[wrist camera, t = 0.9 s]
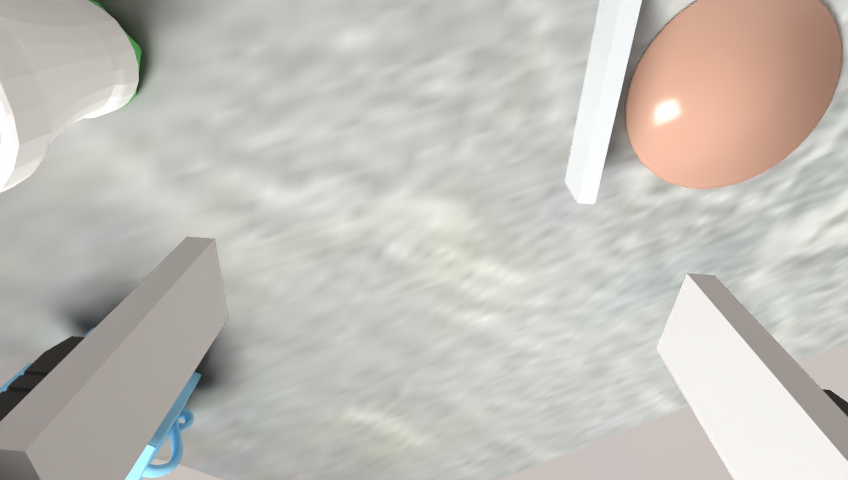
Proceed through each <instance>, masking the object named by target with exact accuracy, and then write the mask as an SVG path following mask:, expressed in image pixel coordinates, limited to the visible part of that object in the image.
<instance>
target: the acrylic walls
mask: <svg viewBox="0 0 848 480" xmlns="http://www.w3.org/2000/svg"><path fill="white" fill-rule="evenodd" d="M641 3H642V0H600V1H599V6H598V11H597V16H596V22H595V27H594V32H593V37H592V43H591V48H590V53H589V58H588V63H587V69H586V74H585V79H584V84H583V89H582V95H581V100H580V105H579V110H578V115H577V121H576V126H575V131H574V136H573V141H572V147H571V152H570V157H569V162H568V168H567V173H566V178H565V184H566V185H567V187H568V188H569V190H570V192H571V193H572V195H573V196H574V198H575V199H576V201H577V203H584V204H595V201H596V197H597V193H598V188H599V184H600V180H601V175H602V171H603V167H604V162H605V158H606V154H607V150H608V145H609V141H610V137H611V132H612V128H613V124H614V119H615V115H616V111H617V106H618V102H619V98H620V93H621V89H622V85H623V80H624V76H625V72H626V67H627V63H628V59H629V54H630V50H631V46H632V41H633V37H634V33H635V28H636V24H637V20H638V16H639V11H640V7H641Z"/></svg>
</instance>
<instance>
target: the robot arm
mask: <svg viewBox="0 0 848 480" xmlns="http://www.w3.org/2000/svg"><path fill="white" fill-rule="evenodd" d="M228 318H229V317H228V311H227V305H226V300H225V294H224V288H223V283H222V277H221V271H220V266H219V260H218V254H217V249H216V243H215V239H211V238H198V237H186V238H185V239H184V240H183V241H182V242H181V243H180V244H179V245H178V246H177V247H176V248H175V249H174V250H173V251H172V252H171V253H170V254H169V255H168V256H167V257H166V258H165V259H164V260H163V261H162V262H161V263H160V264H159V265H158V266H157V267H156V268H155V269H154V270H153V271H152V272H151V273H150V274H149V275H148V276H147V277H146V278H145V279H144V280H143V281H142V282H141V283H140V284H139V285H138V286H137V287H136V288H135V289H134V290H133V291H132V292H131V293H130V294H129V295H128V296H127V297H126V298H125V299H124V300H123V301H122V302H121V303H120V304H119V305H118V306H117V307H116V308H115V309H114V310H113V311H112V312H111V313H110V314H109V315H108V316H107V317H105V318H104V319H103V320H102V321H101V322H100V323H99V324H98V325H97V326H96V327H95V328H94V329H93V330H92V331H91V332H90V333H89V334H88V335H87V336H86V337H74V336H72V337H70V338H68V339H66V340H65V341H63V342H61V343H59V344H58V345H56V346H54V347H53V348H51V349H49V350H47V351H46V352H44V353H43V354H42V355H41V356H40V357H39V358H38V359H37V360H36V361H35V362H34V363H32V364H31V365H30V366H29V367H28V368H27V369H26V370H25V371H24V374H23V375H19V376H18V377H17V378H16V379H15V380H14V381H13V382H12V383H11V384H10V385H9V386H8V387H7V390H6V391H2V392H1V393H0V480H125V479H126V477H127V476H128V474H129V473H130V471H131V470H132V468H133V466H134V465H135V463H136V462H137V460H138V459H139V457H140V456H141V454H142V452H143V451H144V449H145V448H146V446H147V445H148V443H149V441H150V440H151V438H152V437H153V435H154V434H155V432H156V431H157V429H158V427H159V426H160V424H161V423H162V421H163V420H164V418H165V416H166V415H167V413H168V412H169V410H170V409H171V407H172V405H173V404H174V402H175V401H176V399H177V398H178V396H179V395H180V393H181V391H182V390H183V388H184V387H185V385H186V384H187V382H188V380H189V379H190V377H191V376H192V374H193V373H194V371H195V369H196V368H197V366H198V365H199V363H200V362H201V360H202V359H203V357H204V355H205V354H206V352H207V351H208V349H209V348H210V346H211V344H212V343H213V341H214V340H215V338H216V337H217V335H218V333H219V332H220V330H221V329H222V327H223V326H224V324H225V323H226V321H227V319H228ZM656 349H657V351H658V353H659V354H660V356H661V358H662V359H663V361H664V363H665V364H666V366H667V368H668V369H669V371H670V373H671V374H672V376H673V378H674V380H675V381H676V383H677V385H678V386H679V388H680V390H681V391H682V393H683V395H684V396H685V398H686V400H687V402H688V403H689V405H690V407H691V408H692V410H693V412H694V413H695V415H696V417H697V418H698V420H699V422H700V423H701V425H702V427H703V428H704V430H705V432H706V434H707V435H708V437H709V439H710V440H711V442H712V443H713V445H714V447H715V449H716V450H717V452H718V454H719V456H720V457H721V459H722V461H723V462H724V464H725V465H726V467H727V469H728V471H729V472H730V474H731V476H732V477H733V479H734V480H848V403H847V402H846V401H845V400H843V399H842V398H840V397H839V396H838V395H836V394H835V393H833V392H832V391H830V390H823V389H821V388H820V387H819V386H818V385H817V384H816V383H815V382H814V381H813V379H811V377H810V376H809V375H808V374H807V373H806V372H805V371H804V370H803V369H802V368H801V367H800V366H799V365H798V364H797V362H796V361H795V360H794V359H793V358H792V357H791V356H790V355H789V354H788V353H787V352H786V351H785V350H784V349H783V348H782V347H781V345H780V344H779V343H778V342H777V341H776V340H775V339H774V338H773V337H772V336H771V335H770V334H769V333H768V332H767V331H766V330H765V328H764V327H763V326H762V325H761V324H760V323H759V322H758V321H757V320H756V319H755V318H754V317H753V316H752V315H751V314H750V313H749V312H748V310H747V309H746V308H745V307H744V306H743V305H742V304H741V303H740V302H739V301H738V300H737V299H736V298H735V297H734V296H733V295H732V293H731V292H730V291H729V290H728V289H727V288H726V287H725V286H724V285H723V284H722V283H721V282H720V281H719V280H718V279H717V278H716V277H715V275H701V274H687V275H686V277H685V280H684V282H683V285H682V287H681V290H680V292H679V294H678V297H677V299H676V302H675V304H674V307H673V309H672V311H671V314H670V316H669V319H668V321H667V324H666V326H665V329H664V331H663V333H662V336H661V338H660V341H659V343H658V346H657V348H656Z"/></svg>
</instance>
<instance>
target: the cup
mask: <svg viewBox="0 0 848 480" xmlns="http://www.w3.org/2000/svg"><path fill="white" fill-rule="evenodd" d="M141 54H142V51H141V49H140V46H139V45H138V44H137V43H136V42H135V41H134V40H133V39H132V38H131V37H130V36H129V35H128V34H127V33H126V32H125V31H124V30H123V29H122V28H121V27H120V25H119V24H118V23H117V21H116V20H115V19H114V18H113V17H111V16H110V15H109V14H108V13H107V12H106V10H105V9H104V8H103V7H102V5H101V4H100V3H98V2H96V1H93V0H0V193H1V192H3V191H5V190H7V189H9V188H11V187H13V186H15V185H17V184H18V183H20V182H21V181H23V180H24V179H26V178H27V177H29V176H30V175H32V174H33V173H34V172H35V170H36V169H37V167H38V166H39V164H40V163H41V161H42V160H43V158H44V156H45V155H46V153H47V151H48V147H49V144H50V143H51V142H52V141H53V140H54V139H55V138H56V137H57V136H58V135H59V134H60V133H61V132H62V131H63V130H64V129H65V128H66V127H67V126H69V125H71V124H72V123H74V122H76V121H78V120H81V119H83V118H94V117H97V116H101V115H104V114H107V113H109V112H112V111H115V110H117V109H119V108H121V107H123V106H124V105H126V104H128V103H129V102H131V101H132V100H133V99H134V97H135V96H136V91H137V85H138V82H139V67H140V59H141Z"/></svg>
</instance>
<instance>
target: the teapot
mask: <svg viewBox="0 0 848 480" xmlns="http://www.w3.org/2000/svg"><path fill="white" fill-rule="evenodd" d="M93 329H94V328H92V329H91V330H90V331H89V332H88V333H87V334H86V335H85V336H84V337H86V336H87V335H88V334H89V333H90V332H91V331H92V330H93ZM30 365H31V363H29V364H28V365H27V366H26V367H25V368H23V369H22V370H21V371H20V372H19V373H18V374H16V375H15V376H14V377H13V378H12V379H11V380H9V381H8V382H7V383H6V384H5V385H4V386H2V387H1V388H0V393H1V392H2V391H6V390H7V387H8V386H9V385H10V384H11V383H12V382H13V381H14V380H15V379H16V378H17V377H18V376H19V375H23V374H24V371H25V370H26V369H27V368H28V367H29V366H30ZM201 376H202V375H201V374H199V373H197V372H194V373H193V374H192V376H191V377H190V379H189V380H188V382H187V384H186V385H185V387H184V388H183V390H182V391H181V393H180V395H179V396H178V398H177V399H176V401H175V402H174V404H173V405H172V407H171V409H170V410H169V412H168V413H167V415H166V416H165V418H164V420H163V421H162V423H161V424H160V426H159V427H158V429H157V431H156V432H155V434H154V435H153V437H152V438H151V440H150V441H149V443H148V445H147V446H146V448H145V449H144V451H143V452H142V454H141V456H140V457H139V459H138V460H137V462H136V463H135V465H134V466H133V468H132V470H131V471H130V473H129V474H128V476H127V477H126V479H125V480H141V479H142V478H143V476H144V477H149V478H155V477H160V476H164V475H166V474H168V473H169V472H171V471H172V470H174V469H175V468H176V467H177V465H178V464H179V462H180V460H181V458H182V453H183V444H182V437H181V432H180V431H184V430H186V429H188V428H189V427H190V426H191V425H192V423H193V418H194V417H193V413H192V412H191V411H190V410H188V409H186V408H184V407H185V405H186V403H187V401H188V399H189V398H190V396H191V394H192V392H193V390H194V388H195V387H196V385H197V383H198V381H199V379H200V377H201ZM178 418H180V419H183V420H184V421H185V423H184V424H182V423H179V422H178ZM169 434H170V439H171V444H172V459H171V461H170V462H169V463H167V464H163V465H152V464H151V463H152V461H153V460H154V458H155V457H156V455H157V453H158V452H159V450H160V448H161V447H162V445H163V443H164V442H165V440H166V439H167V437H168V435H169Z"/></svg>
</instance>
